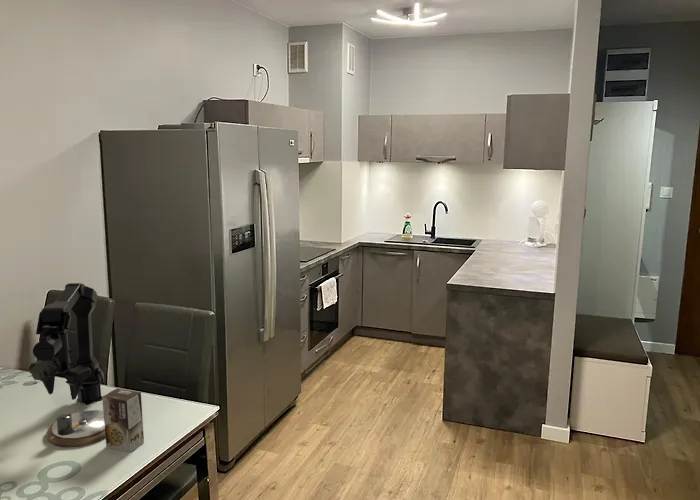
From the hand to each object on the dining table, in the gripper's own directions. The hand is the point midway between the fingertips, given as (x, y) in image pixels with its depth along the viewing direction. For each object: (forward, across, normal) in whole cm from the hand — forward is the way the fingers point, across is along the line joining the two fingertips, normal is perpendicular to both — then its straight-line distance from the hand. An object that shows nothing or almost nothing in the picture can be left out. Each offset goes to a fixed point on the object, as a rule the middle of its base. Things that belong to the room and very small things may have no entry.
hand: (62, 396), depth 170 cm
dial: (+11, +3, +4) cm, 12 cm away
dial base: (+12, +3, +4) cm, 13 cm away
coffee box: (+13, +21, +2) cm, 25 cm away
